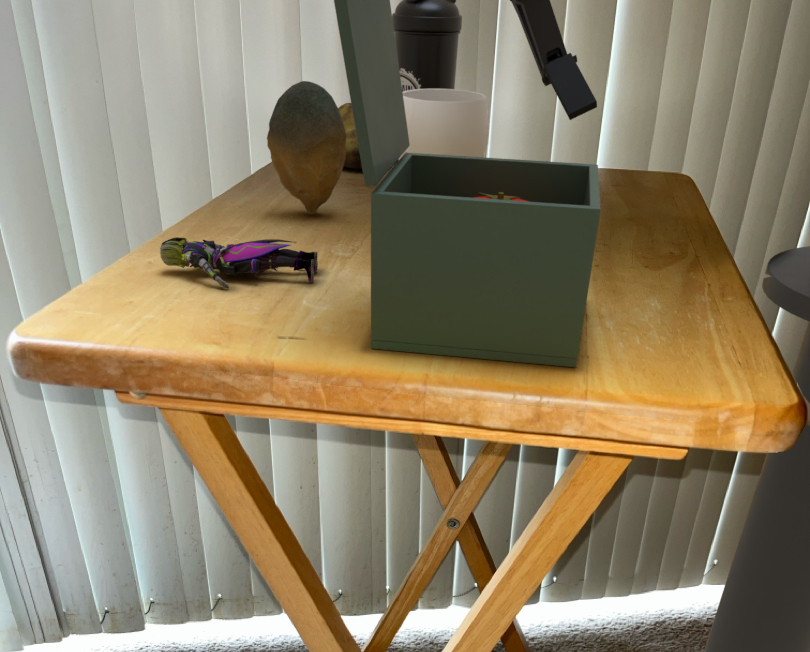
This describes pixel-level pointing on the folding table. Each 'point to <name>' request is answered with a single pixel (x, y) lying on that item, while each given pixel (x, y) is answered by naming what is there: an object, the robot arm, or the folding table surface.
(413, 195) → the storage box
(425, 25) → the water bottle
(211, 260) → the character figure
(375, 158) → the lid
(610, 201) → the folding table surface
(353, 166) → the potato
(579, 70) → the robot arm
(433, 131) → the cup
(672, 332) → the folding table surface
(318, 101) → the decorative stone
